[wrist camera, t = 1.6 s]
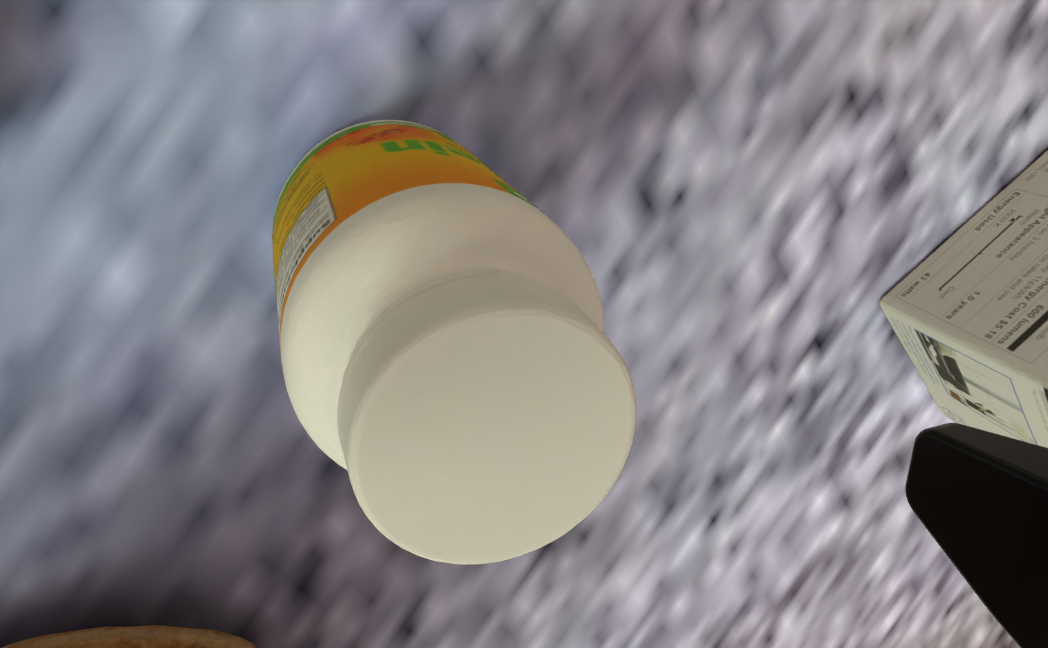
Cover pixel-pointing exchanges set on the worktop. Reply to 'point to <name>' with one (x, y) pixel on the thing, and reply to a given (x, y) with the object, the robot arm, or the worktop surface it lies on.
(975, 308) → the light bulb box
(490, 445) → the supplement bottle
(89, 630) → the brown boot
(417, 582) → the worktop surface
